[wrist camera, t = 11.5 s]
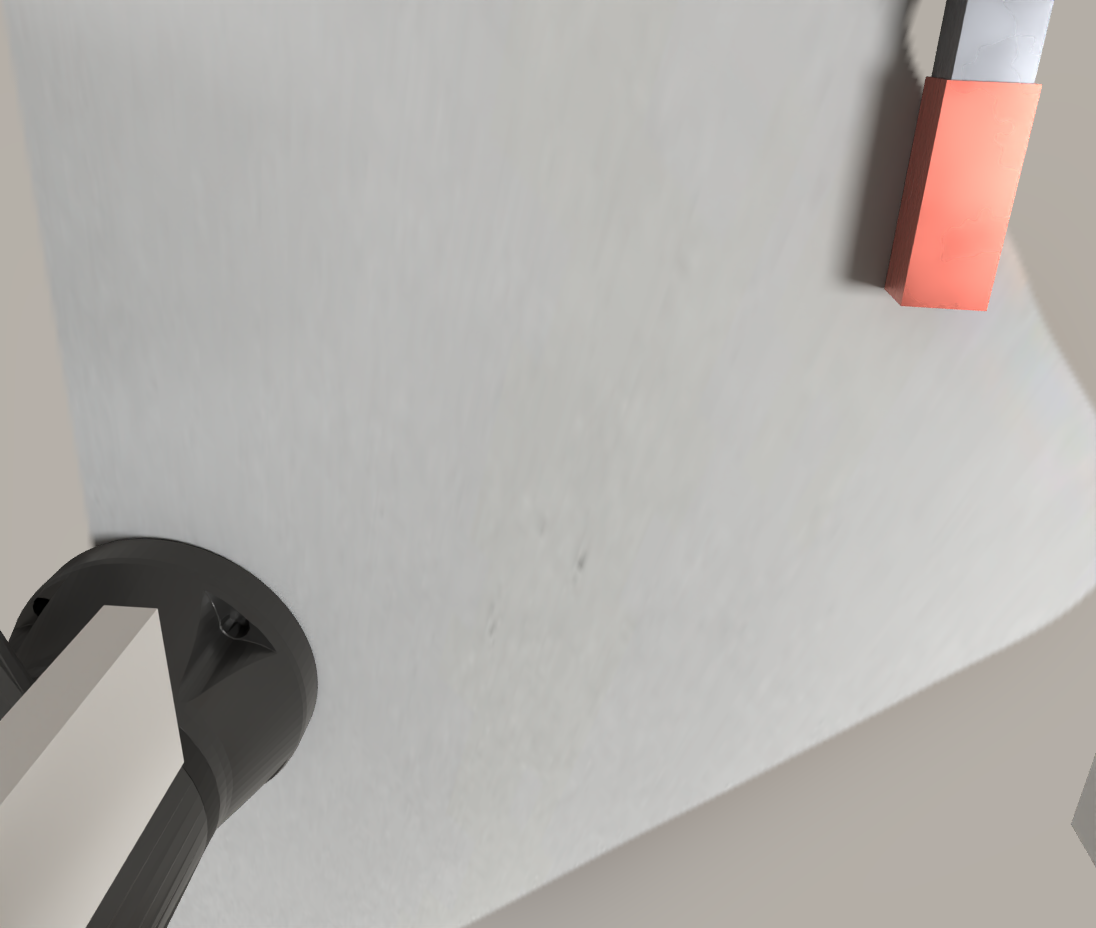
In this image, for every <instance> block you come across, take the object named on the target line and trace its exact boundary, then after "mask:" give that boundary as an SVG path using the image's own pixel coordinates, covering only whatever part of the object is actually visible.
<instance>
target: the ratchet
mask: <svg viewBox="0 0 1096 928" xmlns="http://www.w3.org/2000/svg"><path fill="white" fill-rule="evenodd" d="M1053 3H1054V0H947V1H946V7H945V11H944V16H943V21H942V26H941V32H940V37H939V41H938V46H937V52H936V56H935V62H934V67H933V72H932V77H926V79H925V84H924V89H923V94H922V99H921V104H920V109H919V115H918V120H917V125H916V130H915V135H914V140H913V145H912V150H911V155H910V160H909V165H908V171H907V176H906V181H905V186H904V191H903V196H902V201H901V206H900V211H899V216H898V222H897V227H896V232H895V237H894V242H893V247H892V252H891V257H890V262H889V267H888V272H887V278H886V283H885V288H884V289H885V290H886V291H887V292H888V293H889V294H890V295H891V296H892V297H893V298H894V299H895V300H896V301H897V302H898V303H899V304H900V306H912V307H928V308H945V309H961V310H977V311H987V307H988V303H989V299H990V295H991V290H992V286H993V282H994V278H995V274H996V270H997V266H998V262H999V258H1000V254H1001V250H1002V246H1003V242H1004V238H1005V234H1006V229H1007V225H1008V221H1009V217H1010V213H1011V209H1012V205H1013V201H1014V197H1015V193H1016V188H1017V184H1018V180H1019V177H1020V172H1021V168H1022V164H1023V160H1024V156H1025V152H1026V148H1027V144H1028V140H1029V136H1030V132H1031V128H1032V124H1033V120H1034V116H1035V111H1036V107H1037V103H1038V99H1039V95H1040V91H1041V87H1042V85H1041V84H1035V83H1034V81H1035V77H1036V73H1037V69H1038V65H1039V61H1040V57H1041V52H1042V48H1043V44H1044V40H1045V36H1046V32H1047V28H1048V24H1049V20H1050V15H1051V11H1052V7H1053Z"/></svg>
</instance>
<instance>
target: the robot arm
mask: <svg viewBox="0 0 1096 928" xmlns="http://www.w3.org/2000/svg"><path fill="white" fill-rule="evenodd" d="M317 689H318V680H317V670H316V664H315V660H314V656H313V653H312V650H311V647H310V645H309V642H308V640H307V638H306V636H305V634H304V632H303V630H302V628H301V626H300V625H299V623H298V621H297V620H296V618H295V617H294V616H293V614H292V613H291V612H290V610H289V609H288V608H287V606H286V605H285V604H284V603H283V602H282V601H281V600H280V599H279V597H278V596H277V595H276V594H274V593H273V592H272V591H271V590H270V589H269V588H268V587H267V586H266V585H265V584H263V583H262V582H261V581H260V580H258V579H257V578H256V577H255V576H253V575H252V574H250V573H249V572H247V571H246V570H244V569H243V568H241V567H239V566H238V565H236V564H234V563H232V562H231V561H229V560H227V559H225V558H223V557H220V556H218V555H216V554H214V553H211V552H209V551H206V550H203V549H200V548H197V547H194V546H191V545H187V544H182V543H178V542H172V541H166V540H157V539H131V540H122V541H116V542H111V543H107V544H103V545H100V546H97V547H94V548H92V549H90V550H87V551H85V552H83V553H81V554H79V555H78V556H76V557H74V558H73V559H71V560H70V561H69V562H68V563H66V564H65V565H64V566H63V567H61V568H60V569H59V570H58V571H57V572H56V573H55V574H54V575H53V576H52V577H51V578H50V579H49V580H48V581H47V582H46V583H45V584H44V585H42V586H41V587H40V589H39V590H37V592H36V593H35V594H34V595H33V596H32V598H31V599H30V600H29V601H28V603H27V604H26V606H25V607H24V609H23V610H22V612H21V614H20V616H19V618H18V620H17V622H16V625H15V627H14V630H13V632H12V635H11V637H10V639H9V642H8V641H7V640H6V638H5V637H4V635H3V634H2V632H1V631H0V928H167V926H168V924H169V922H170V920H171V918H172V916H173V914H174V912H175V910H176V908H177V906H178V904H179V902H180V900H181V898H182V896H183V894H184V892H185V890H186V888H187V886H188V884H189V882H190V879H191V877H192V875H193V873H194V871H195V869H196V867H197V865H198V863H199V861H200V859H201V857H202V855H203V853H204V851H205V849H206V847H207V845H208V844H209V842H210V840H211V838H212V836H213V834H214V833H215V831H216V829H217V828H218V827H219V826H220V825H221V824H223V823H224V822H225V821H226V820H227V819H228V818H229V817H230V816H231V815H232V814H233V813H234V812H236V811H237V810H238V809H239V808H240V807H241V806H242V805H243V804H244V803H245V802H246V801H247V800H248V799H249V798H250V797H251V796H252V795H253V794H255V793H256V792H257V791H258V790H259V789H260V788H261V787H262V786H263V785H264V784H265V783H267V782H268V781H269V780H271V779H272V778H273V777H274V776H275V775H277V774H278V773H279V772H280V771H281V769H282V768H283V767H284V766H285V765H286V763H287V762H288V761H289V759H290V758H291V757H292V755H293V754H294V752H295V750H296V749H297V747H298V745H299V743H300V741H301V738H302V736H303V734H304V732H305V730H306V728H307V726H308V724H309V721H310V719H311V717H312V714H313V711H314V708H315V704H316V699H317ZM1071 825H1072V827H1073V828H1074V830H1075V832H1076V834H1077V835H1078V837H1079V839H1080V841H1081V842H1082V844H1083V846H1084V848H1085V849H1086V851H1087V853H1088V855H1089V856H1090V858H1091V860H1092V862H1093V863H1094V865H1095V867H1096V754H1095V757H1094V760H1093V763H1092V766H1091V769H1090V771H1089V774H1088V777H1087V780H1086V783H1085V786H1084V788H1083V792H1082V794H1081V797H1080V800H1079V803H1078V806H1077V809H1076V811H1075V814H1074V817H1073V820H1072V823H1071Z"/></svg>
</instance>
